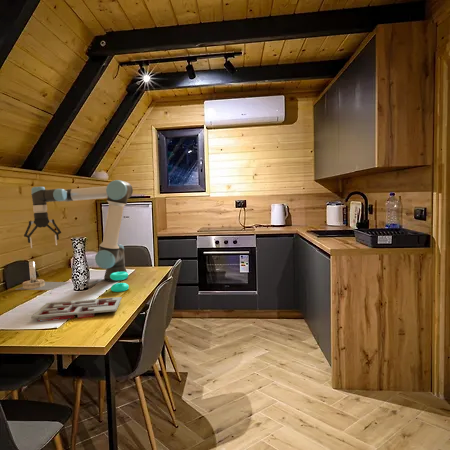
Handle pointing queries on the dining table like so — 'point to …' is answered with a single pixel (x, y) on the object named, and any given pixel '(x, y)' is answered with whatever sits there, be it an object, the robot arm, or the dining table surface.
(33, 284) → the tan faceted ring
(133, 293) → the dining table surface
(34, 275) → the peg
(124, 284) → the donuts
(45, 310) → the maze game
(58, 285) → the board
